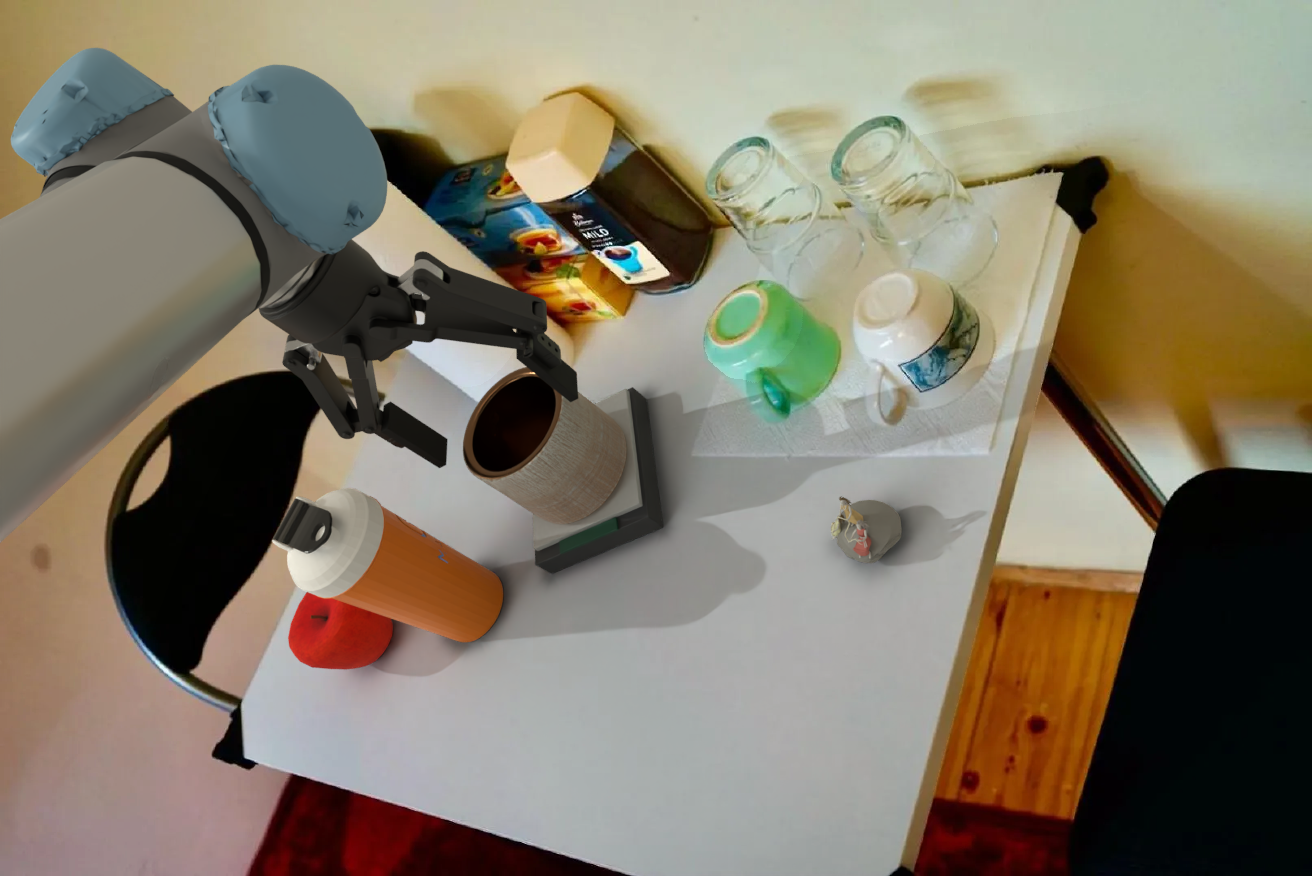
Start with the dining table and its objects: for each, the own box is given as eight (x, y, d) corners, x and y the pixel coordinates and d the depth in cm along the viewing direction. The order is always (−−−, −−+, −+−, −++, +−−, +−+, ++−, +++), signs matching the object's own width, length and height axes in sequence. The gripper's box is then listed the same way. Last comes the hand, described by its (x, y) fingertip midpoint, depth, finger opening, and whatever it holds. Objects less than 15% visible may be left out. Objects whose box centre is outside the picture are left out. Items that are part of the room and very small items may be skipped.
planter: (579, 548, 76) (505, 503, 69) (514, 496, 83) (441, 450, 76) (653, 443, 77) (587, 388, 70) (581, 401, 84) (515, 348, 77)
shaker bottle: (492, 660, 80) (309, 585, 65) (427, 645, 85) (245, 574, 71) (524, 565, 83) (357, 474, 68) (460, 557, 88) (292, 471, 74)
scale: (663, 528, 76) (644, 514, 74) (551, 575, 80) (530, 563, 78) (646, 398, 84) (629, 383, 82) (545, 448, 89) (526, 434, 86)
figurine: (909, 507, 64) (879, 472, 60) (910, 565, 62) (880, 533, 58) (840, 516, 67) (806, 484, 63) (839, 572, 65) (804, 542, 61)
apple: (379, 582, 93) (319, 555, 88) (422, 616, 87) (360, 589, 82) (332, 659, 92) (267, 637, 86) (372, 698, 86) (306, 678, 80)
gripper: (438, 130, 55) (629, 320, 70) (180, 309, 65) (397, 443, 80) (432, 208, 51) (638, 394, 66) (156, 389, 60) (391, 515, 75)
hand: (506, 421), depth 73 cm, fingers open, 13 cm apart
